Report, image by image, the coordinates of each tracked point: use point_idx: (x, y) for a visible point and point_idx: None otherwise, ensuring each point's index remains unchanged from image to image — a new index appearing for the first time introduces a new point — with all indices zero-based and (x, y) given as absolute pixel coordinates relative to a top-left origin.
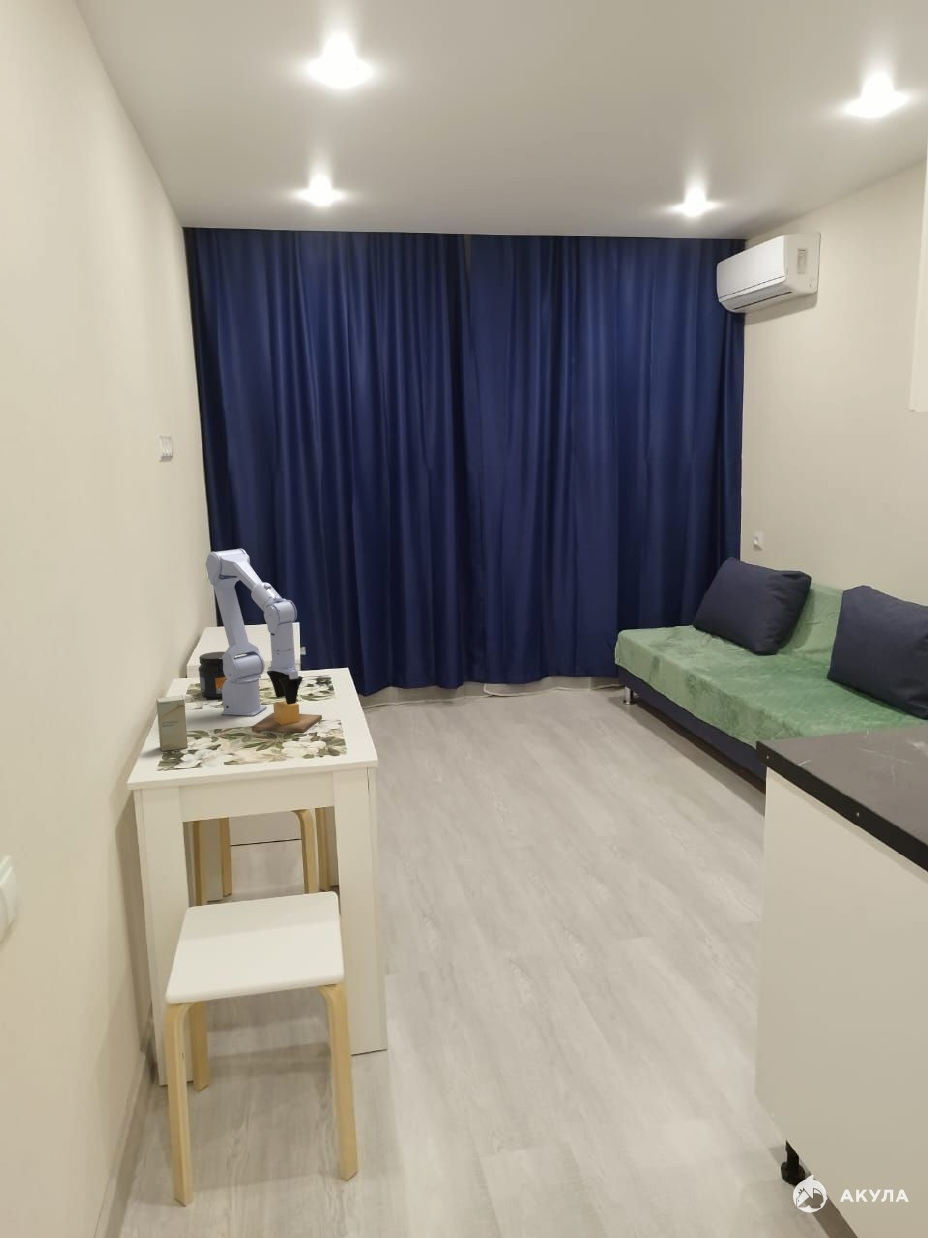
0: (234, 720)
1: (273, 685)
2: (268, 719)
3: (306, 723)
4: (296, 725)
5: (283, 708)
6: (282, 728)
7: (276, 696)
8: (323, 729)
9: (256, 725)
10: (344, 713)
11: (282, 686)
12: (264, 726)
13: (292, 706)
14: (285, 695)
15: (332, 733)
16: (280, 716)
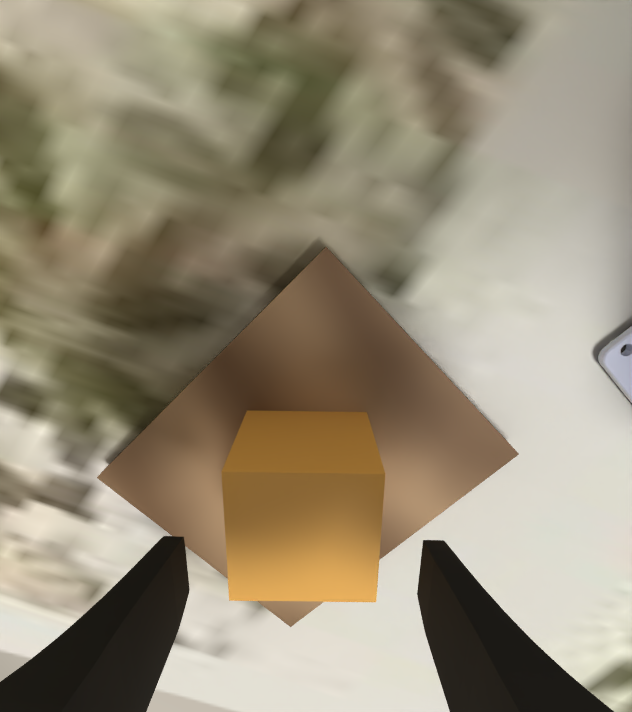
0: (613, 220)
1: (502, 632)
2: (401, 387)
3: (188, 524)
4: (183, 472)
5: (226, 490)
6: (180, 393)
7: (444, 544)
8: (119, 556)
9: (327, 280)
10: (307, 699)
11: (64, 702)
12: (274, 316)
13: (229, 554)
14: (117, 599)
15: (35, 565)
16: (239, 435)
